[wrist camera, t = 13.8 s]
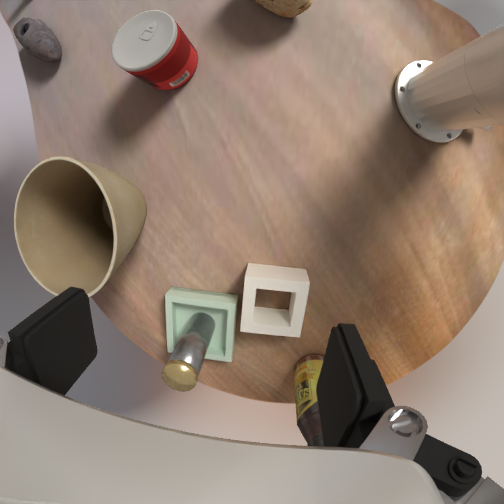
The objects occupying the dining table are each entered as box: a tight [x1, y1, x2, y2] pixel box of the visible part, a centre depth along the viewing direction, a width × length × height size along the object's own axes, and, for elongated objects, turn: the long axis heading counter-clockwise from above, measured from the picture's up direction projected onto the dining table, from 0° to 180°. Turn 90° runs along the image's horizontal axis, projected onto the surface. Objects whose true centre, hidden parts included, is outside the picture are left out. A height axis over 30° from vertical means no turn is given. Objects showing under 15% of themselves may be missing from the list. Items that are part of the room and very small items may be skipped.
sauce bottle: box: [294, 354, 324, 447], centre depth 36 cm, size 7×6×20 cm
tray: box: [165, 287, 238, 362], centre depth 43 cm, size 10×10×3 cm
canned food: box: [111, 10, 198, 90], centre depth 29 cm, size 8×8×11 cm
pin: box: [162, 312, 215, 391], centre depth 37 cm, size 4×4×13 cm
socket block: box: [240, 263, 310, 337], centre depth 40 cm, size 8×8×5 cm
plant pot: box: [14, 157, 147, 297], centre depth 33 cm, size 15×15×16 cm
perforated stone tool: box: [13, 18, 62, 61], centre depth 29 cm, size 15×5×7 cm, turn 41°
